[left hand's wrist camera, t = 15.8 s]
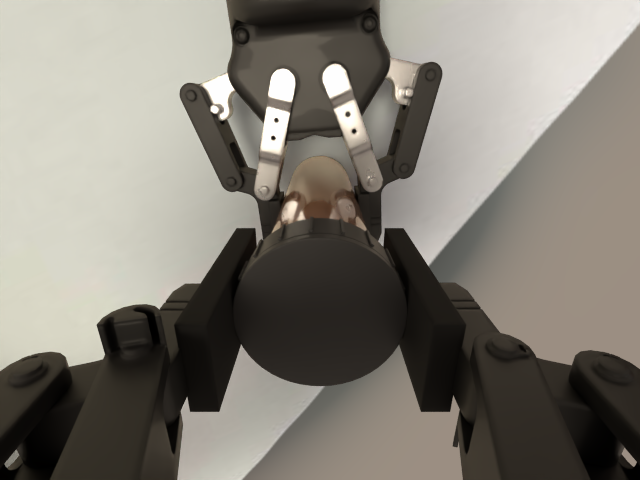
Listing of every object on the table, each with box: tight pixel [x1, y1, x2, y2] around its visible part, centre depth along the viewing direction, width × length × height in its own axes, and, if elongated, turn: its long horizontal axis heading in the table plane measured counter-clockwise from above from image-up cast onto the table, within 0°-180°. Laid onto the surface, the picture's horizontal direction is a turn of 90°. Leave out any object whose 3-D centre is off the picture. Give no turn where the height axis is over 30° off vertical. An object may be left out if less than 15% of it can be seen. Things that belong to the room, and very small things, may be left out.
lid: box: [233, 216, 408, 386], centre depth 11 cm, size 5×6×2 cm
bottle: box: [271, 156, 368, 233], centre depth 19 cm, size 4×4×17 cm
